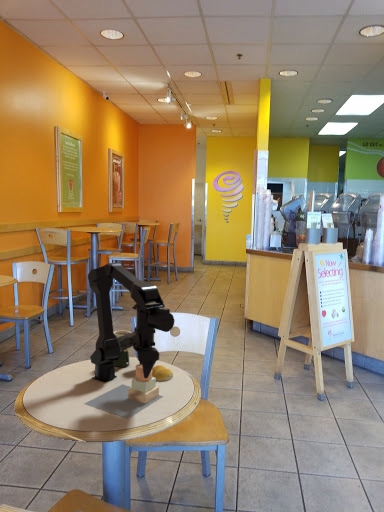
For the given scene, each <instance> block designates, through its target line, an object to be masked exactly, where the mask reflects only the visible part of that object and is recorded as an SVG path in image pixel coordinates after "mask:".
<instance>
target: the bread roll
mask: <svg viewBox="0 0 384 512" xmlns="http://www.w3.org/2000/svg"><path fill="white" fill-rule="evenodd" d="M152 377H154V378H156V382H160V381H161V382H162V381H163V382H165V381H170V380H172V379H173V377H174V372H173V370H171V369H169V368H167V367H166V366H164V365H154V366H153V368H152Z"/></svg>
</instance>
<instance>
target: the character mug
mask: <svg viewBox="0 0 384 512" xmlns="http://www.w3.org/2000/svg"><path fill="white" fill-rule="evenodd" d="M128 333H132V331H130V330H125V329H124V330H123V329H122V330H115V331H114V334H115V335H116V337H117V338H118V337H121V336H123V335H126V334H128ZM131 348H132V347H130V348H127V349H126V350H124V351H122V350H121V353H120V356H119V360H118V361H114V366H117V367H127V365H130V354H129V350H130V349H131Z"/></svg>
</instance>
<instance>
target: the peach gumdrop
mask: <svg viewBox="0 0 384 512" xmlns="http://www.w3.org/2000/svg"><path fill="white" fill-rule="evenodd" d="M135 378H136V380H137V381H139V382H148V381H151V380H152V370H151V372H150V374H149V376H148V378H144V374H143V368H142V364H140V363H139V364H136V366H135Z"/></svg>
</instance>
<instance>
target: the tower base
mask: <svg viewBox="0 0 384 512" xmlns="http://www.w3.org/2000/svg"><path fill="white" fill-rule="evenodd" d="M130 387H131V388H129V389H128V398H129V399H132V400H135V401H139V402H142V403H145V404H146V403H148V402H149V401H151V400H153V399H154V398H156V397H158V396H159V395H160V387H159V386H157V385H156V387H155V388H153V389H151V390H150V391H148V392H146V393H144V392H141V391H137V390H134V389H132V386H130Z"/></svg>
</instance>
